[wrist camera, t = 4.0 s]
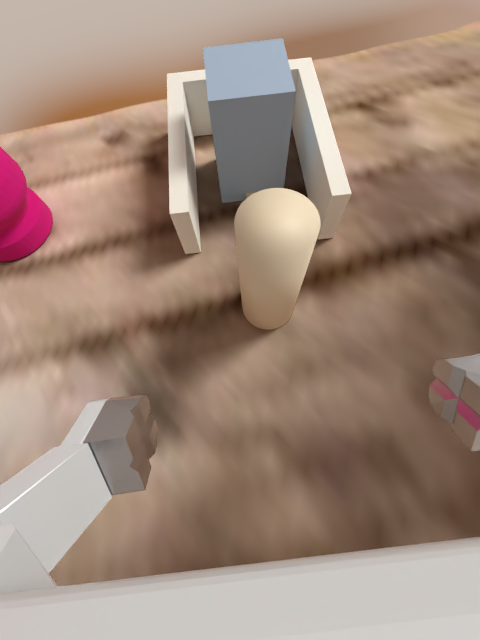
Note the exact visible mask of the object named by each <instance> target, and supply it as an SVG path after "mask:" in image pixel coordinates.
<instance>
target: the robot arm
mask: <svg viewBox="0 0 480 640" xmlns="http://www.w3.org/2000/svg"><path fill="white" fill-rule="evenodd" d="M432 373H433V374H434V375H435V377H436V379H435V380H434V381H433V382H432V383H431V384H430V386H429V393H428V396H429V400H430V404H431V406H432V408H433V410H434V412H435V413H436V414H437V415H438V416H439V417H440V418H441V419H443V420H445V421H447V422H449V423H451V424H452V431H453V432H454V433H455V434H456V435H457V437H458V438H459V439H460V440H461V441H462V442H463V443H464V444H465V445H466V446H467V447H468V448H469V449H470V450H471V451H478V450H480V354H474V355H470V356H462V357H454V358H446V359H438V360H437V361H436V362H435V364H434V366H433V370H432ZM150 407H151V405H150V402H149V399H148V397H147V396H145V395H138V396H128V397H118V398H110V399H100V400H92V401H90V402H88V403H87V405H86V406H85V408H84V409H83V411H82V413H81V414H80V416H79V417H78V419H77V420H76V422H75V424H74V425H73V427H72V428H71V430H70V431H69V433H68V434H67V436H66V438H65V439H64V441H63V442H62V444H61V445H60V446H59V447H53V448H52V449H51V450H49V451H48V452H46V453H45V454H44V455H42V456H41V457H39V458H38V459H37V460H35V461H34V462H32V463H31V464H30V465H28V466H27V467H25V468H24V469H23V470H21V471H20V472H18V473H17V474H16V475H14V476H13V477H12V478H10V479H9V480H7V481H6V482H5V483H3V484H2V485H0V640H480V537H474V538H465V539H457V540H448V541H440V542H431V543H423V544H414V545H406V546H397V547H389V548H380V549H372V550H363V551H355V552H346V553H338V554H329V555H321V556H312V557H304V558H296V559H287V560H279V561H270V562H262V563H253V564H245V565H236V566H228V567H219V568H211V569H203V570H194V571H186V572H177V573H169V574H160V575H152V576H143V577H135V578H127V579H118V580H110V581H101V582H93V583H84V584H76V585H68V586H59V587H58V586H57V584H56V583H55V581H54V580H53V579H52V577H51V576H50V575H49V573H50V571H51V570H52V569H53V568H54V567H55V565H56V564H57V563H58V562H59V561H60V559H61V558H62V557H63V556H64V555H65V553H66V552H67V551H68V550H69V549H70V547H71V546H72V545H73V544H74V543H75V541H76V540H77V539H78V538H79V536H80V535H81V534H82V533H83V532H84V530H85V529H86V528H87V527H88V526H89V524H90V523H91V522H92V521H93V520H94V518H95V517H96V516H97V515H98V514H99V512H100V511H101V510H102V509H103V508H104V506H105V505H106V504H107V503H108V501H109V500H110V499H111V498H112V496H111V495H117V494H123V493H130V492H137V491H143V490H145V489H146V485H147V481H148V478H149V474H150V470H151V465H150V462H149V459H150V458H151V457H152V456H153V454H154V453H155V451H156V447H157V437H158V432H157V425H156V421H155V418H153V417H152V416H151V415H149V411H150Z"/></svg>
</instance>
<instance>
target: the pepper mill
mask: <svg viewBox="0 0 480 640" xmlns="http://www.w3.org/2000/svg"><path fill="white" fill-rule="evenodd" d="M52 224H53V220H52V213H51V211H50V209H49V208H48V206H47V205H46V204H45V203H44V202H43V201H42V200H41V199H40V198H39V197H38V195H37V194H36V193H35V192H34V191H32V190H31V189H29V188H28V187H27V183H26V179H25V176H24V173H23V171H22V170H21V168H20V167H19V165H18V164H17V163H16V162H15V161H14V160H13V159H12V158H11V157H10V156H9V155H8V154H7V153H6V152H5V151H4V150H3V149H2V148H1V147H0V261H12V260H17V259H20V258H22V257H25V256H27V255H29V254H30V253H32V252H34V251H35V250H36V249H38V248H39V247H40V246H41V245H42V244H43V243H44V242H45V240H46V238H47V237H48V235H49V234H50V232H51V228H52Z"/></svg>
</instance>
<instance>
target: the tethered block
mask: <svg viewBox="0 0 480 640" xmlns="http://www.w3.org/2000/svg"><path fill="white" fill-rule="evenodd" d="M203 52H204V63H205V75H206V86H207V97H208V106H209V113H210V120H211V127H212V134H213V141H214V148H215V155H216V163H217V170H218V177H219V184H220V191H221V198H222V203H228V202H237V201H243V202H242V204H241V205H240V206H239V208H238V210H237V212H236V215H235V220H234V225H235V236H236V247H237V257H238V268H239V278H240V289H241V299H242V309H243V313H244V315H245V317H246V319H247V320H248V321H249V322H250V323H251V324H252V325H254V326H255V327H257V328H260V329H265V330H271V329H276V328H279V327H281V326H283V325H284V324H285V323H286V322H287V321H288V320H289V319H290V317H291V315H292V312H293V309H294V306H295V303H296V300H297V297H298V294H299V291H300V288H301V285H302V282H303V279H304V276H305V273H306V270H307V267H308V264H309V261H310V258H311V255H312V252H313V249H314V246H315V243H316V240H317V237H318V234H319V231H320V226H321V221H320V216H319V213H318V210H317V208H316V207H315V205H314V204H313V203H312V202H311V201H310V200H309V199H308V198H307V197H305V196H304V195H302V194H300V193H298V192H296V191H293V190H290V189H285V188H284V182H285V174H286V166H287V158H288V150H289V142H290V134H291V126H292V118H293V110H294V102H295V94H296V90H295V86H294V82H293V78H292V74H291V70H290V66H289V62H288V58H287V54H286V50H285V46H284V42H283V39H274V40H265V41H257V42H248V43H239V44H231V45H222V46H214V47H204V48H203Z"/></svg>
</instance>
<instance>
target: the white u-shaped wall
mask: <svg viewBox="0 0 480 640" xmlns="http://www.w3.org/2000/svg"><path fill="white" fill-rule="evenodd" d="M288 62H289V66H290V70H291V74H292V78H293V82H294V86H295V90H296V94H295V102H294V110H293V118H292V130H293V134H294V139H295V143H296V147H297V152H298V156H299V161H300V165H301V169H302V174H303V178H304V182H305V187H306V191H307V196H308V199H309V200H310V201H311V202H312V203H313V204H314V205H315V207H316V208H317V210H318V213H319V216H320V221H321V226H320V231H319V234H318V237H317V239H327V238H333V237H334V235H335V232H336V230H337V227H338V225H339V222H340V220H341V218H342V215H343V213H344V210H345V208H346V206H347V203H348V201H349V198H350V196H351V190H350V187H349V184H348V180H347V177H346V174H345V170H344V167H343V163H342V160H341V157H340V153H339V150H338V146H337V143H336V140H335V136H334V133H333V130H332V126H331V123H330V119H329V116H328V113H327V109H326V106H325V103H324V99H323V96H322V92H321V89H320V86H319V82H318V79H317V76H316V72H315V69H314V65H313V62H312V59H311V58H301V59H293V60H288ZM167 92H168V93H167V100H168V155H169V211H170V216H171V219H172V221H173V224H174V226H175V229H176V232H177V234H178V237H179V239H180V242H181V244H182V247H183V249H184V252H185V254H191V253H200V252H201V247H200V230H199V214H198V197H197V181H196V165H195V148H194V136H201V135H210V134H212V127H211V120H210V113H209V106H208V97H207V86H206V75H205V70H197V71H188V72H179V73H170V74H167Z"/></svg>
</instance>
